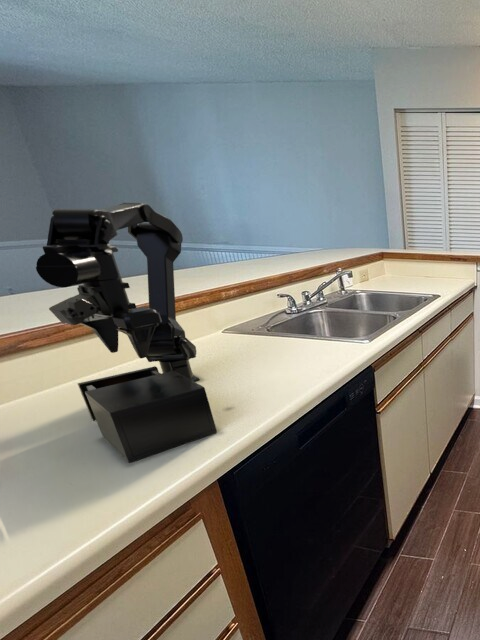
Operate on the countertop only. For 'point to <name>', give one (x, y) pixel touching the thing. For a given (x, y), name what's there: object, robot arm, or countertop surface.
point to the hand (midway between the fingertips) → (128, 355)
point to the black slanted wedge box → (151, 414)
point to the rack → (114, 382)
